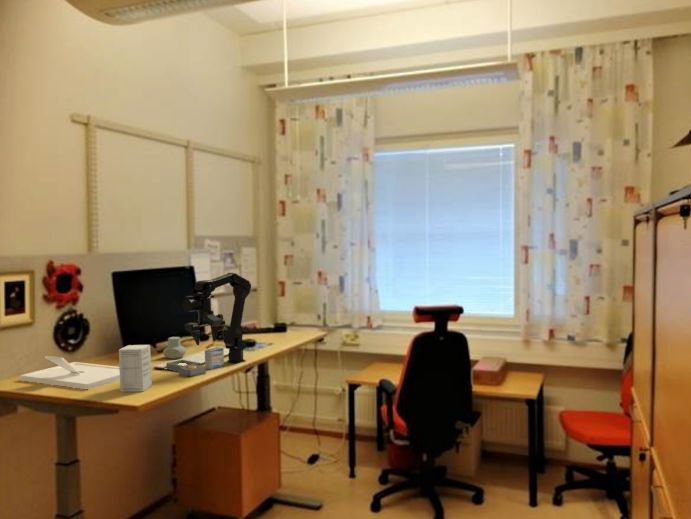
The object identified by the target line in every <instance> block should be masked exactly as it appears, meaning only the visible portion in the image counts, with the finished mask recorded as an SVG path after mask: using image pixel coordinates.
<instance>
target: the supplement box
mask: <svg viewBox="0 0 691 519" xmlns="http://www.w3.org/2000/svg"><path fill="white" fill-rule="evenodd" d="M151 356H152V355H151V345H150V344H133V345H132V344H128V345H126V346H124V347H122V348H120V349H118V360H119V361H118V364H119V365H118V367H119V369H120V381H119V388H120V389H119V391H120V392H121V393H123V392H125V393H126V392H127V393H129V392H130V393H131V392H134V393H135V392H138V393H139V392H144V391H147V390H148V389H149V388H151V387H152V386H153V382H152V381H153V380H152V379H153V378H152V361H151V360H152V358H151Z"/></svg>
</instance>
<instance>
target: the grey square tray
mask: <svg viewBox="0 0 691 519" xmlns="http://www.w3.org/2000/svg"><path fill="white" fill-rule="evenodd" d="M179 363H186V364H187V365H184V366H182V365H178V364H179ZM190 365H199V366H203V365H201V362H197V361H193V360H187V359H179V360H174V361H170V362H166V366H163V367H164V368H167V369H171V370H173V372H176V371H177V372H176V373H179V368H181V367H185V366H190ZM167 369H166V370H167ZM171 370H170V371H171Z"/></svg>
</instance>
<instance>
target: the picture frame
mask: <svg viewBox="0 0 691 519" xmlns="http://www.w3.org/2000/svg"><path fill="white" fill-rule="evenodd" d="M44 359H46V360H48V361H50V362H52V363H54V364H56V365H57V366H52V367H49V368H44V369H41V370H40V369H39V370H35V371H31V372H28V373H24V374H20V375H19V381H20V382H24V381H31V382H39V383H46V384H53V385H60V386H67V387H66V388H68V387H75V388H82V389H90V388H93V389H95V388H94V387H97V386H100V387H102V386H101V385H103V386H105V385H104V384H107V385H109V384H108V383H110V384H113V383H116V382H120V369H119V366H116V365H106V364H96V363H88V362H87V363H86V362H79V361H73V362H68V361H67V360H66V359H65V358H64V357H63V356H53V355H45V356H44ZM31 382H30V383H31ZM112 382H113V383H112ZM39 383H38V384H39ZM46 384H45V385H46ZM53 385H52V386H53ZM60 386H59V387H60ZM75 388H74V389H75ZM97 388H98V387H97ZM82 389H81V390H82ZM90 390H91V389H90Z"/></svg>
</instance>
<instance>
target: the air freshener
mask: <svg viewBox="0 0 691 519" xmlns="http://www.w3.org/2000/svg"><path fill="white" fill-rule="evenodd" d="M186 353H187V349H186V348H185V347H184V346H183V345H181V337H180V336H171V337H168V339H167V346H166V347H165V348H164V349H163V352H162V354H163V356H164V357H166V358H167V359H171V360H175V359H176V358H177V359H180V358H182V357H184V356H185V355H186Z"/></svg>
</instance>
